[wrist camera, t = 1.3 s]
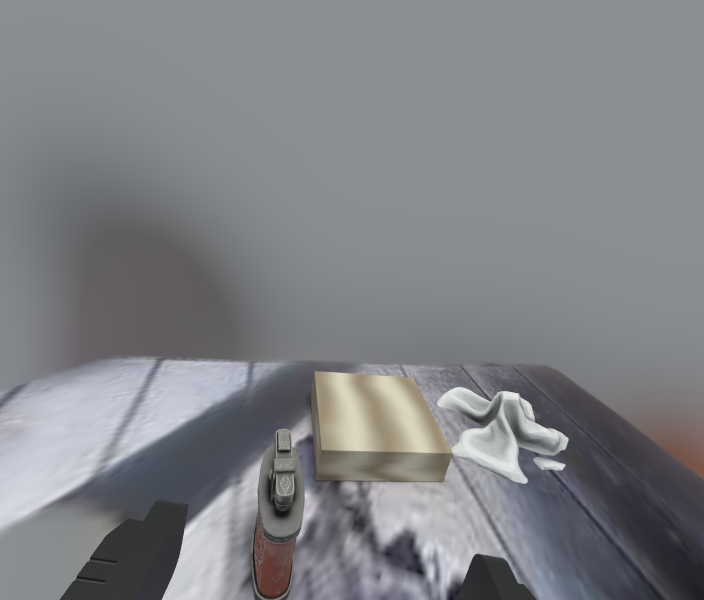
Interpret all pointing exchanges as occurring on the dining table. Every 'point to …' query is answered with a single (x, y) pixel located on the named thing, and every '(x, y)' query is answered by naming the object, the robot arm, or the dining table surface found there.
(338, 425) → the base block
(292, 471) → the lighter
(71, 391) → the dining table surface
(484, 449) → the cloth
